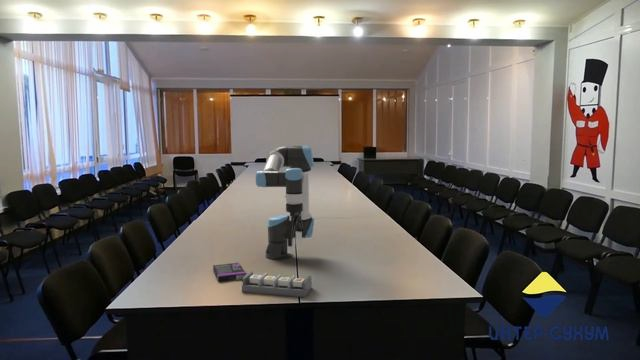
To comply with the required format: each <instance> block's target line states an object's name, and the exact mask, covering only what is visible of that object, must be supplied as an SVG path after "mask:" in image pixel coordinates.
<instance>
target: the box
mask: <svg viewBox="0 0 640 360" xmlns="http://www.w3.org/2000/svg"><path fill="white" fill-rule="evenodd" d="M212 268H213V269H212V270H213V273H214V275H215V278H216V280H217V282H218V283H221V282H223V283H224V282H228V281H236V280H237V281H238V280H243V277H245V276H246V275H247V273H246V272H245V269H243V268H244V267H243V266H242V265H241V263H240V262H233V263H222V264H213V265H212Z"/></svg>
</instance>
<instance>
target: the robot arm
mask: <svg viewBox="0 0 640 360" xmlns="http://www.w3.org/2000/svg"><path fill="white" fill-rule="evenodd" d="M265 161H266V162H265V165H264V167H263V170H258V171H256V173H255V185H256V186H257V187H258V188H276V187H277V188H285V194H284V198H285V202H286V203H285V212H287V213H289V215H287V214H281V215H279V214H278V215H275V216H274V215H273V216H271V217H269V218H268V220H267V240H268V241H267V245H266V249H265V253H264V255H265V257H266V258H267V259H269V260H270V259H271V260H283V259H288V258H290V257H292V254H294V253H295V246H298V247H299V246H300V247H302V245H303V241H302V240H303V239H310V238H312V237H313V232H314V226H315V218H314V217H312V214H311V213H310V199H309V198H310V197H309V194H310V192H309V190H310V189H309V187H310V186H309V185H310V184H309V174H310V172H311V171H312V168H314V155H313V151H312V148H311V147H310V146H309V145H283V146H282V145H281V146H278V147H276V148H274V149H272V150H271V151H270V152H268V154H267V156H266V159H265ZM281 168H287V169H285V170H281ZM294 241H295V242H294ZM294 244H295V245H294Z"/></svg>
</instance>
